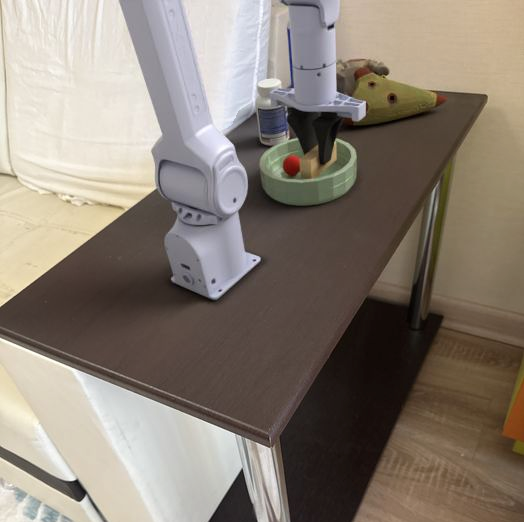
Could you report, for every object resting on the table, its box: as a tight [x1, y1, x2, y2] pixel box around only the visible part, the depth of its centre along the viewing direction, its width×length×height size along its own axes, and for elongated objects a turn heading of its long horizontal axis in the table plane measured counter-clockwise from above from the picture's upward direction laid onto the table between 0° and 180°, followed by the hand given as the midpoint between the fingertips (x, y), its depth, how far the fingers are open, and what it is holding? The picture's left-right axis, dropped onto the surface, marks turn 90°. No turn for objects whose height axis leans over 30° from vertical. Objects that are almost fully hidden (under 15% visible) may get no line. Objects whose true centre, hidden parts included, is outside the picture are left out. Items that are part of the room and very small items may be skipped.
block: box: [299, 141, 337, 179], centre depth 78 cm, size 7×2×3 cm, turn 143°
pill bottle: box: [254, 78, 290, 147], centre depth 90 cm, size 5×5×10 cm
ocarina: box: [341, 67, 448, 126], centre depth 92 cm, size 20×5×10 cm
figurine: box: [336, 58, 391, 97], centre depth 101 cm, size 10×14×15 cm
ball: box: [283, 155, 300, 176], centre depth 82 cm, size 3×3×3 cm
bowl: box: [259, 137, 358, 207], centre depth 81 cm, size 15×15×4 cm
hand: (318, 160), depth 78 cm, fingers closed on block, 2 cm apart
